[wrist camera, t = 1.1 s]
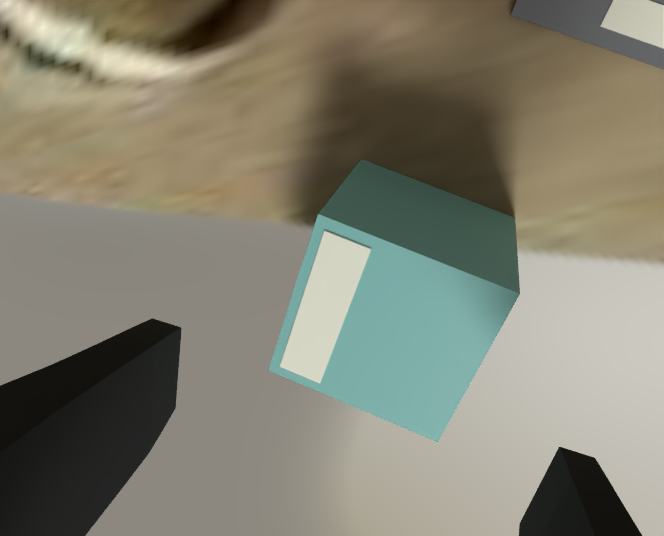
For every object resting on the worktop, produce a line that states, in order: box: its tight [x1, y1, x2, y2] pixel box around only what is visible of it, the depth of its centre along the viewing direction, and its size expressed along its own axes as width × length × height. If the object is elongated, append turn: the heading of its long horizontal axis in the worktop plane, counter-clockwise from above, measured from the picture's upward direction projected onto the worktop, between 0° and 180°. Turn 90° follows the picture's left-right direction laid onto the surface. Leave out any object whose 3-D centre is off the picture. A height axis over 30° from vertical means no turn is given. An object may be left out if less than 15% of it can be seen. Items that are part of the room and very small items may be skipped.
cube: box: [269, 159, 520, 442], centre depth 16 cm, size 5×5×5 cm
